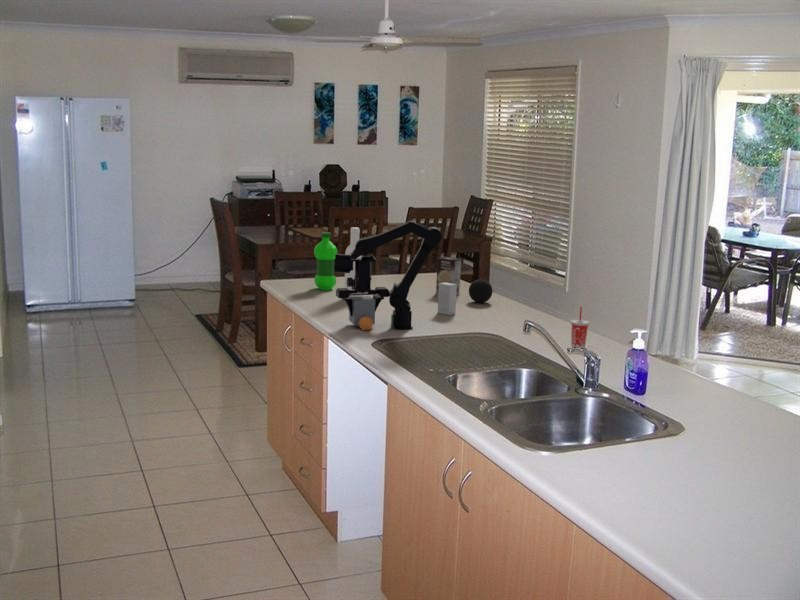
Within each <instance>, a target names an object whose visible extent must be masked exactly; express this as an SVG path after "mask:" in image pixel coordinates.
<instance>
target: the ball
mask: <svg viewBox="0 0 800 600" xmlns="http://www.w3.org/2000/svg"><path fill="white" fill-rule="evenodd" d="M358 326H359V328H360V329H361V330H363V331H370V329H372V328H373V326H374V324H373V321H372V319H371V318H370V317H367V316H365V317H362V318H361V319H360V321H359V325H358Z"/></svg>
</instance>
